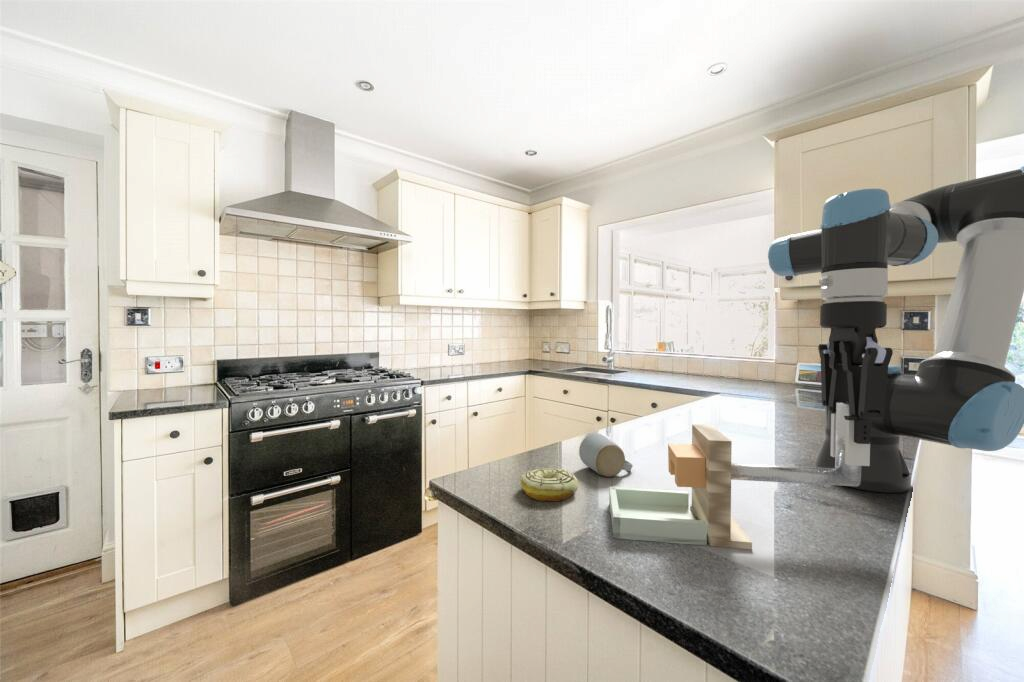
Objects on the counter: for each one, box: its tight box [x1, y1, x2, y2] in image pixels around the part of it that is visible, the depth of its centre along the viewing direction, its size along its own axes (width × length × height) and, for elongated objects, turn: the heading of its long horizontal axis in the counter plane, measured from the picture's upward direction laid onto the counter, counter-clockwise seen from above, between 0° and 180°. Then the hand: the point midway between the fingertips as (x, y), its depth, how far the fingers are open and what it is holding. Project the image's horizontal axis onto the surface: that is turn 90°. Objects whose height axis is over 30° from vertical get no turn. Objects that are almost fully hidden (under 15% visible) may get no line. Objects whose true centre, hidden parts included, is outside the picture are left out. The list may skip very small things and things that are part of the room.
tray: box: [608, 486, 708, 547], centre depth 67 cm, size 13×12×3 cm
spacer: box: [667, 443, 706, 488], centre depth 66 cm, size 4×7×4 cm, turn 170°
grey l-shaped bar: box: [731, 402, 861, 487], centre depth 63 cm, size 22×3×12 cm, turn 80°
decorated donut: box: [520, 467, 579, 502], centre depth 80 cm, size 10×11×4 cm
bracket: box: [689, 424, 753, 550], centre depth 65 cm, size 6×12×15 cm, turn 170°
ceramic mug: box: [578, 432, 633, 478], centre depth 91 cm, size 11×8×8 cm
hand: (849, 460), depth 61 cm, fingers closed on grey l-shaped bar, 3 cm apart
